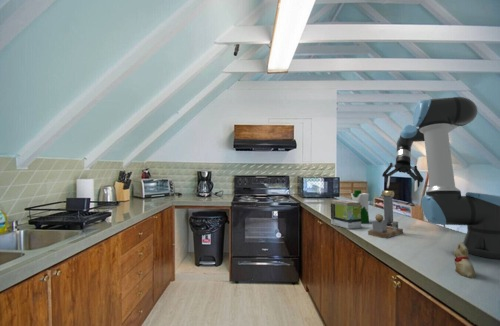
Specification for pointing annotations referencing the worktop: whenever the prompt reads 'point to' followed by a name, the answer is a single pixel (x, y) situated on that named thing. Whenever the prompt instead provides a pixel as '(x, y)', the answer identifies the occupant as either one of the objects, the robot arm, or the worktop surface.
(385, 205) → the lever
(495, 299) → the worktop surface
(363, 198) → the milk carton
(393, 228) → the bench
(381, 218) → the walnut
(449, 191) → the robot arm
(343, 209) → the tea box
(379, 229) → the grey block
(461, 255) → the chocolate bunny
